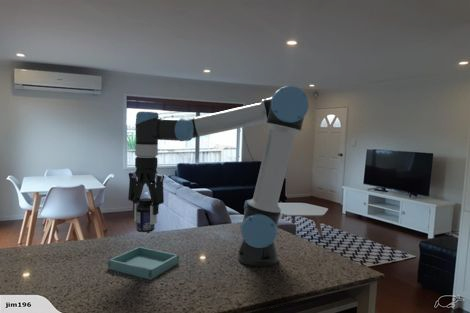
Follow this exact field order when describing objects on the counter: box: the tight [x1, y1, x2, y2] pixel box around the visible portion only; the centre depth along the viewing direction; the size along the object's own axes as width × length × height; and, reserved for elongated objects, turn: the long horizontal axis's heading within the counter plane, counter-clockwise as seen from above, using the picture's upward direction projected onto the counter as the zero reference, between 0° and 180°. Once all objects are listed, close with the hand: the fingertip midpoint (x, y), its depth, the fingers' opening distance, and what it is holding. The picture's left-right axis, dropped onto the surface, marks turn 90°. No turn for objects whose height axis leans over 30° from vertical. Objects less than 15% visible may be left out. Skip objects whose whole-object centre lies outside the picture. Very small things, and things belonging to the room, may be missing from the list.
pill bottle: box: [136, 197, 155, 233], centre depth 121 cm, size 6×6×11 cm
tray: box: [107, 246, 180, 281], centre depth 122 cm, size 18×16×3 cm
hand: (145, 222), depth 121 cm, fingers closed on pill bottle, 6 cm apart
